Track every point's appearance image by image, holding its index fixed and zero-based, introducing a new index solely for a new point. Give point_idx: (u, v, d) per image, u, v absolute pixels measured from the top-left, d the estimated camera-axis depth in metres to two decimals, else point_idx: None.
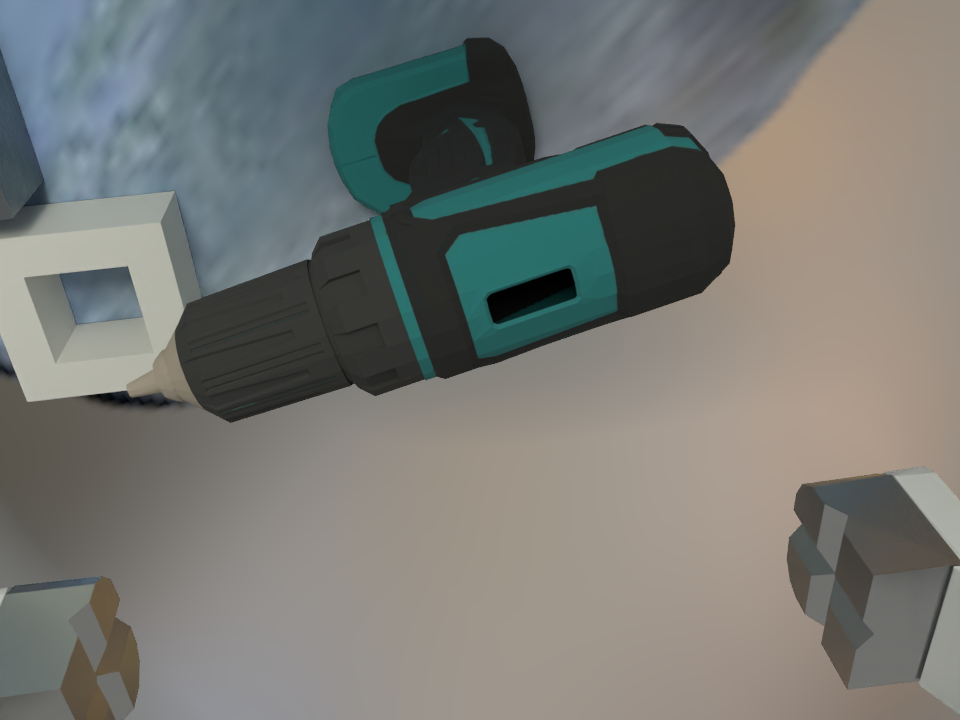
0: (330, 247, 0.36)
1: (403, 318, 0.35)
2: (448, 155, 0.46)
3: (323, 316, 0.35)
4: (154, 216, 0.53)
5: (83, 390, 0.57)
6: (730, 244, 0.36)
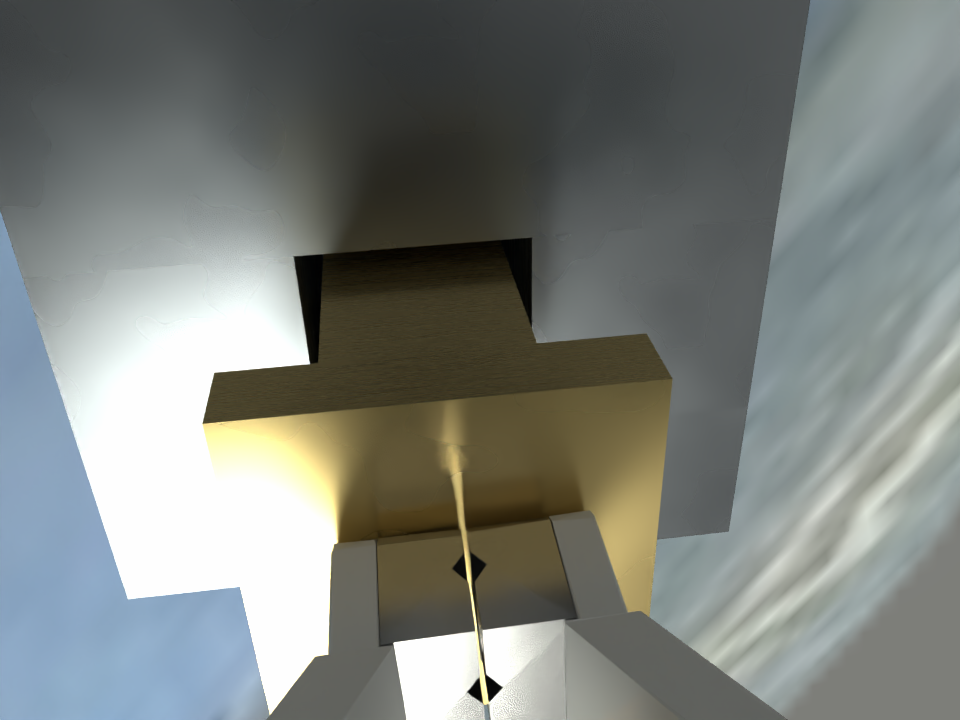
0: None
1: None
2: None
3: None
4: None
5: None
6: None
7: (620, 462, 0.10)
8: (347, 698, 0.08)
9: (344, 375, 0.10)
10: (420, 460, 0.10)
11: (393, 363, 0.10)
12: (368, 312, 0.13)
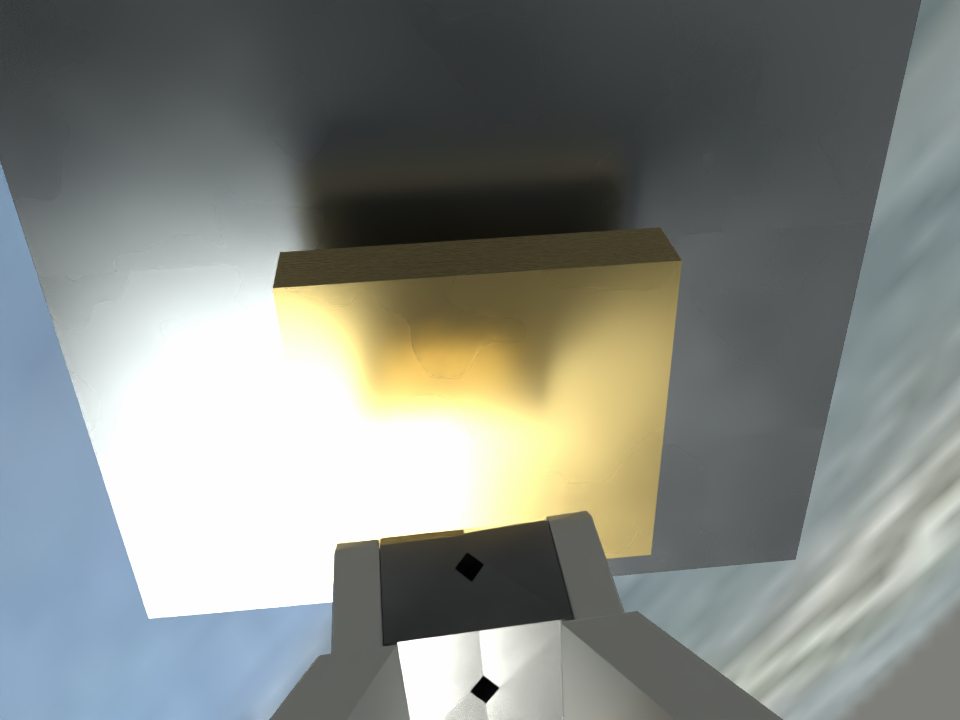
0: None
1: None
2: None
3: None
4: None
5: None
6: None
7: (634, 338, 0.12)
8: (351, 698, 0.08)
9: (394, 254, 0.11)
10: (459, 329, 0.11)
11: (436, 246, 0.12)
12: None
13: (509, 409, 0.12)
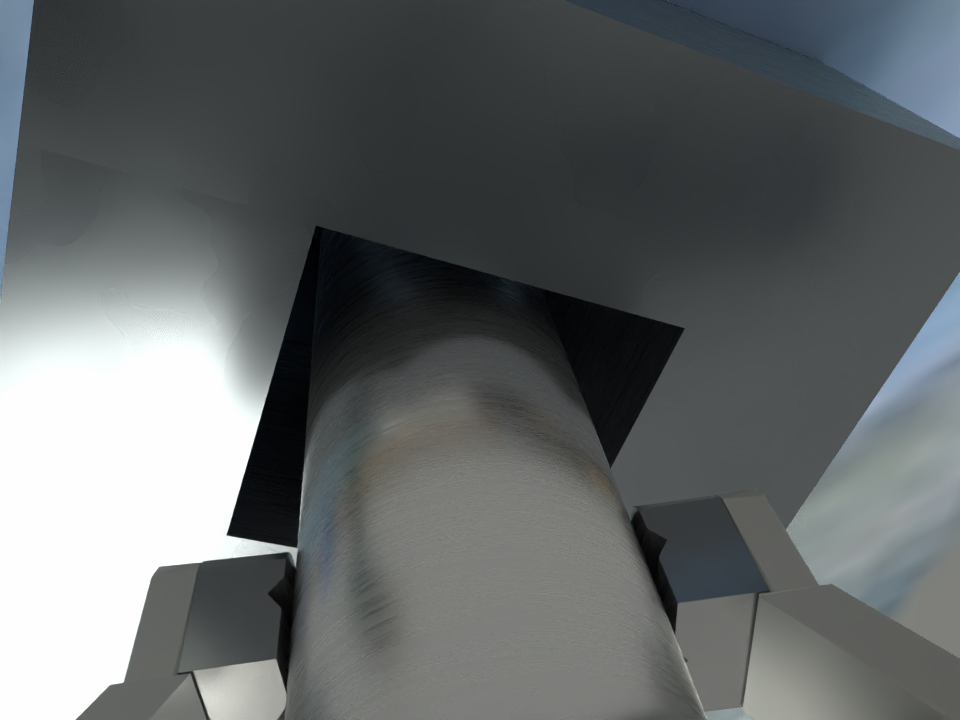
0: None
1: None
2: None
3: None
4: None
5: None
6: None
7: None
8: None
9: None
10: None
11: None
12: None
13: None
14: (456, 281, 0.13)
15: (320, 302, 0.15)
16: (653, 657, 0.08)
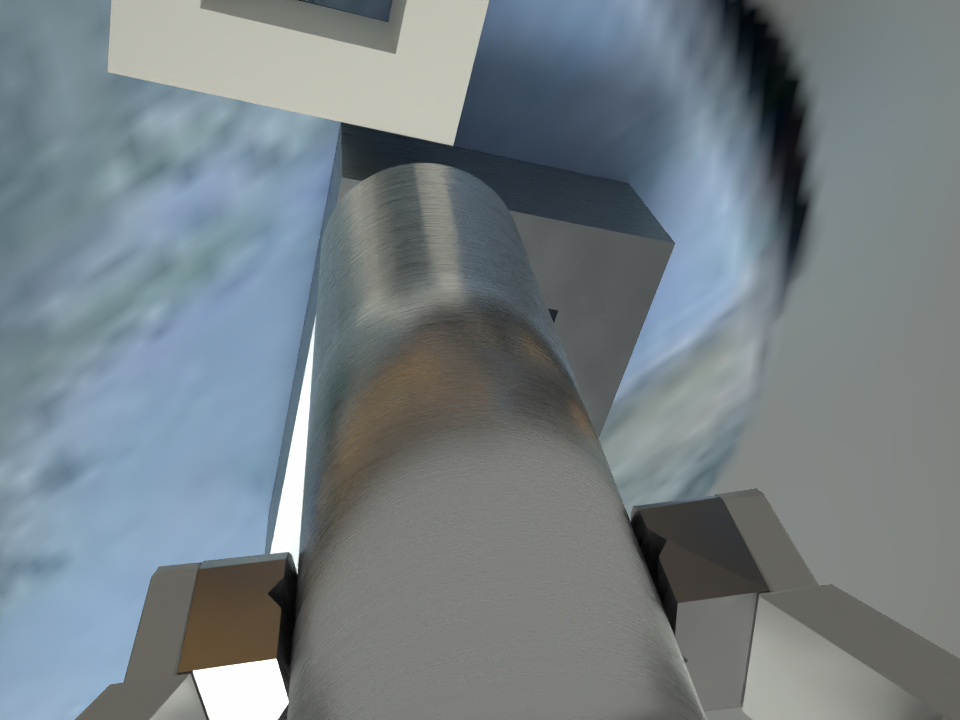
0: None
1: None
2: None
3: None
4: None
5: None
6: None
7: None
8: None
9: None
10: None
11: None
12: None
13: None
14: (457, 285, 0.13)
15: (321, 305, 0.15)
16: (654, 659, 0.08)
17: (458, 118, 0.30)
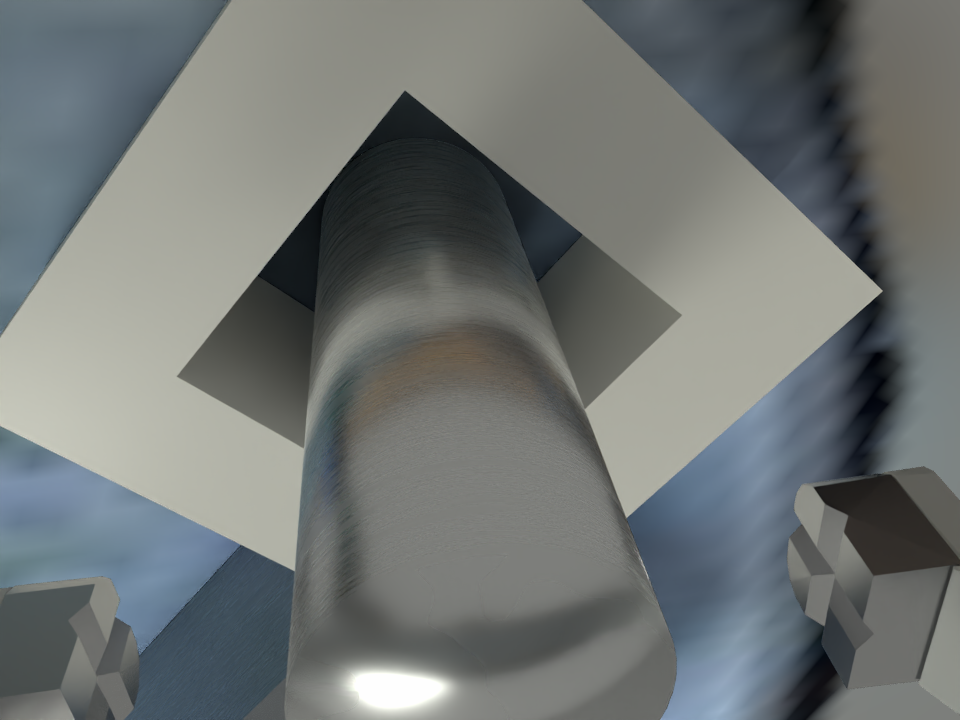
0: None
1: None
2: None
3: None
4: None
5: (735, 184, 0.14)
6: None
7: None
8: None
9: None
10: None
11: None
12: None
13: None
14: (446, 241, 0.14)
15: (322, 265, 0.16)
16: (608, 540, 0.09)
17: None
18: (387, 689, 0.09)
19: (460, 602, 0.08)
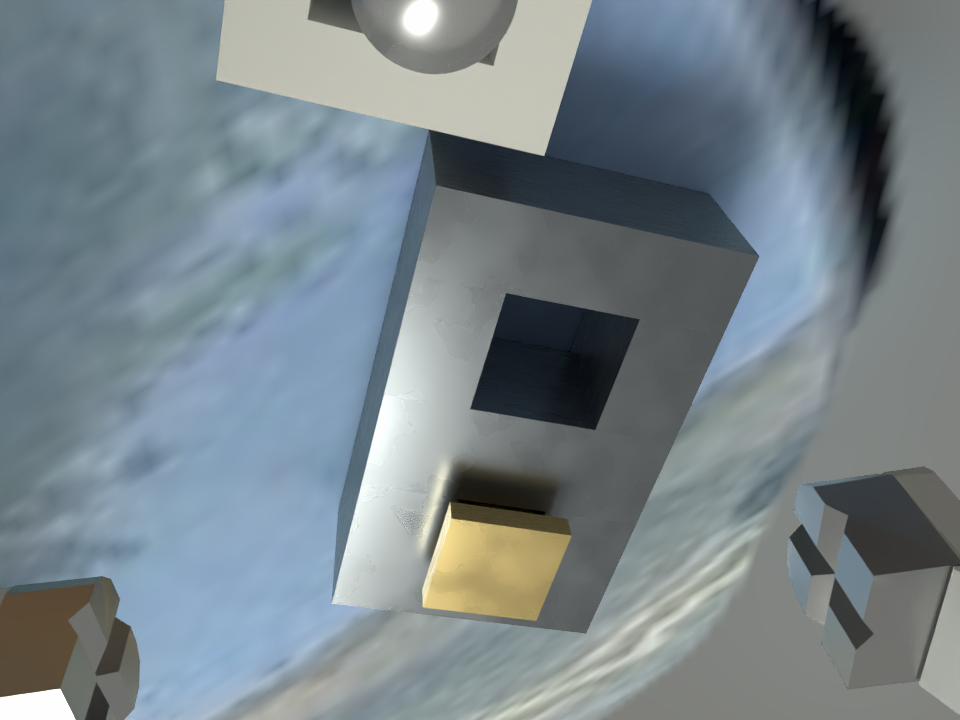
0: None
1: None
2: None
3: None
4: None
5: None
6: None
7: (551, 553, 0.37)
8: None
9: (485, 511, 0.36)
10: (500, 540, 0.36)
11: (498, 511, 0.36)
12: None
13: (506, 565, 0.37)
14: None
15: None
16: None
17: (550, 129, 0.30)
18: None
19: None
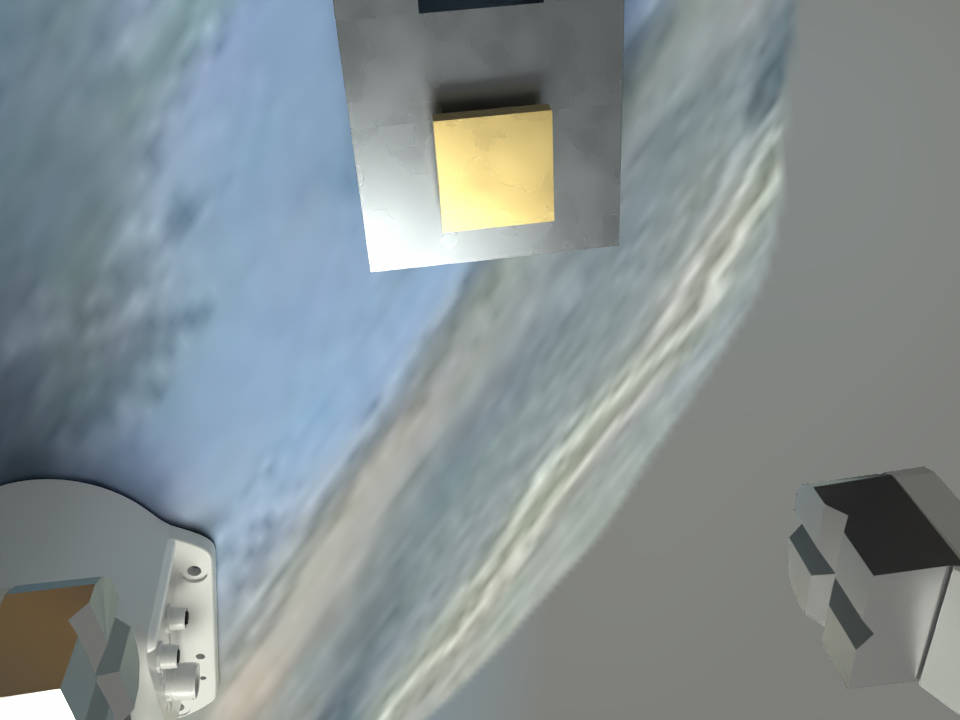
0: None
1: None
2: None
3: None
4: None
5: None
6: None
7: (540, 136, 0.38)
8: None
9: (466, 113, 0.38)
10: (487, 134, 0.38)
11: (479, 111, 0.38)
12: None
13: (503, 162, 0.39)
14: None
15: None
16: None
17: None
18: None
19: None
